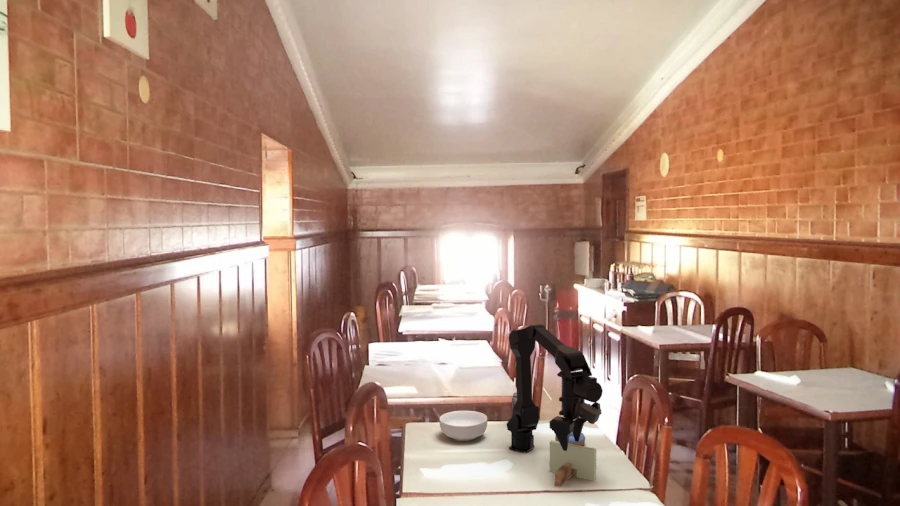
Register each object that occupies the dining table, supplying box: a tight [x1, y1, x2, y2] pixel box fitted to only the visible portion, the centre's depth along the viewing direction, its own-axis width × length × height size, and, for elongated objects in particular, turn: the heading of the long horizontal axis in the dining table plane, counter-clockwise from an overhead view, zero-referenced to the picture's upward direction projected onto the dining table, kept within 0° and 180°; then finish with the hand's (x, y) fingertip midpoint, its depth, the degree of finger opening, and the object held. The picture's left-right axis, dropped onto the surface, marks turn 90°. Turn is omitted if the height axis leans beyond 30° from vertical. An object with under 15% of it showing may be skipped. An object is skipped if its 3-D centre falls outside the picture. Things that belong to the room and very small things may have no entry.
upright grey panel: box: [549, 439, 597, 482], centre depth 194 cm, size 14×2×9 cm, turn 58°
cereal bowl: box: [439, 410, 488, 442], centre depth 227 cm, size 17×17×7 cm
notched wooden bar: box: [554, 463, 577, 488], centre depth 194 cm, size 20×2×4 cm, turn 147°
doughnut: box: [554, 432, 586, 446], centre depth 221 cm, size 10×10×5 cm
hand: (571, 445), depth 194 cm, fingers open, 9 cm apart
